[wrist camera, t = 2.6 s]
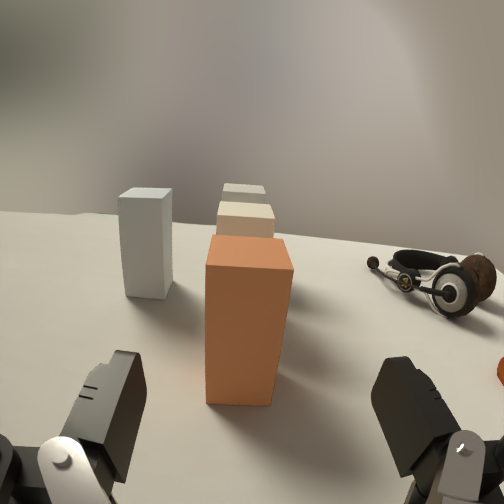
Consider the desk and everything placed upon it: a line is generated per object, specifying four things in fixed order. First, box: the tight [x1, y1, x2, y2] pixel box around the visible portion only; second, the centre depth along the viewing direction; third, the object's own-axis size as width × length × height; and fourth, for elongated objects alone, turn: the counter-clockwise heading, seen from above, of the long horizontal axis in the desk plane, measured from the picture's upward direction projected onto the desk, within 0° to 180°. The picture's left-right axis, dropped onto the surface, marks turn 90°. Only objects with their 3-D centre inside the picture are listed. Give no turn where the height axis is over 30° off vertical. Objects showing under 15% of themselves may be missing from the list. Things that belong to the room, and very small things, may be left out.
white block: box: [118, 188, 173, 300], centre depth 35 cm, size 5×5×12 cm
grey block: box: [222, 183, 266, 204], centre depth 41 cm, size 5×5×12 cm
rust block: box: [205, 235, 294, 406], centre depth 22 cm, size 5×5×12 cm
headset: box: [367, 250, 497, 318], centre depth 42 cm, size 17×8×20 cm
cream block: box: [216, 201, 275, 238], centre depth 32 cm, size 5×5×12 cm
